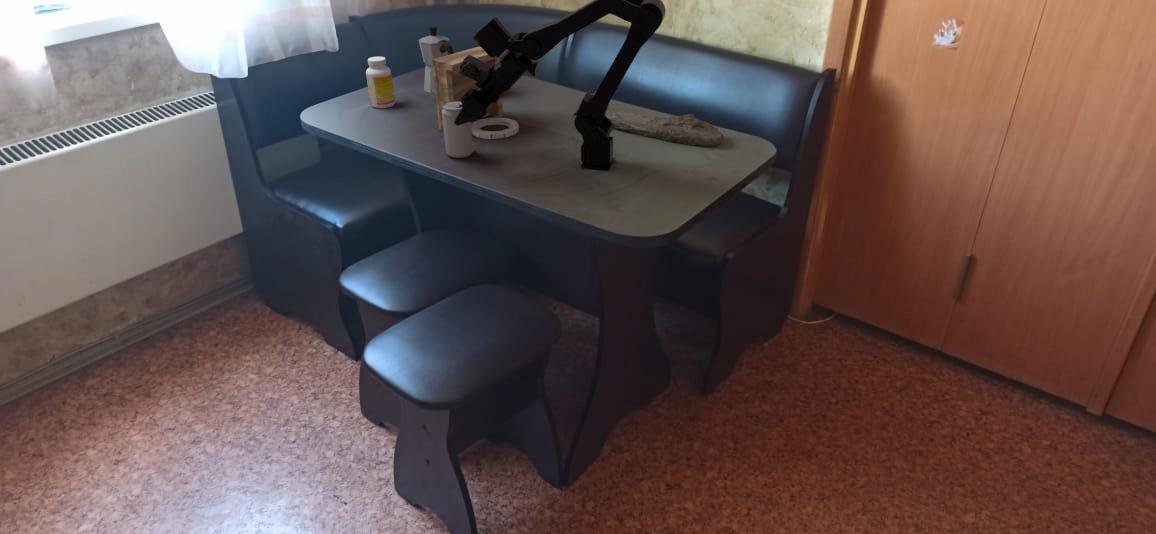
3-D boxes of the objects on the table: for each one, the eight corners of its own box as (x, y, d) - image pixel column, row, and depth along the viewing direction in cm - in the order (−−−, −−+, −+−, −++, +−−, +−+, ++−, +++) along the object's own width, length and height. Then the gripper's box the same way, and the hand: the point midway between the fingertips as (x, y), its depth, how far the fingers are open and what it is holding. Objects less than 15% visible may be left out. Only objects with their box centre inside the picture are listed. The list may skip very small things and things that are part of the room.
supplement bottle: (400, 103, 216) (394, 57, 209) (383, 110, 211) (376, 63, 205) (382, 99, 219) (376, 54, 212) (365, 106, 214) (358, 59, 208)
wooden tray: (509, 117, 205) (506, 49, 196) (458, 136, 194) (452, 65, 185) (490, 111, 210) (486, 44, 200) (439, 130, 198) (432, 59, 189)
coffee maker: (414, 88, 228) (406, 25, 219) (439, 81, 233) (433, 20, 224) (443, 100, 218) (436, 35, 209) (468, 93, 224) (463, 29, 214)
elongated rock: (606, 120, 208) (587, 133, 201) (605, 101, 205) (586, 113, 198) (730, 137, 191) (713, 153, 184) (730, 117, 188) (713, 131, 181)
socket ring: (524, 124, 201) (524, 119, 200) (508, 140, 191) (508, 136, 191) (481, 120, 204) (481, 115, 203) (463, 136, 194) (462, 131, 193)
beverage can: (468, 160, 181) (464, 110, 175) (442, 158, 182) (437, 108, 176) (477, 150, 186) (473, 101, 180) (451, 148, 187) (446, 99, 181)
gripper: (492, 34, 178) (450, 79, 185) (466, 56, 162) (421, 104, 169) (527, 71, 180) (484, 113, 188) (504, 96, 165) (458, 141, 172)
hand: (462, 117), depth 179 cm, fingers open, 9 cm apart
